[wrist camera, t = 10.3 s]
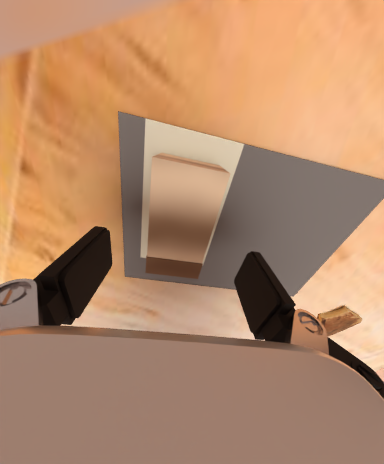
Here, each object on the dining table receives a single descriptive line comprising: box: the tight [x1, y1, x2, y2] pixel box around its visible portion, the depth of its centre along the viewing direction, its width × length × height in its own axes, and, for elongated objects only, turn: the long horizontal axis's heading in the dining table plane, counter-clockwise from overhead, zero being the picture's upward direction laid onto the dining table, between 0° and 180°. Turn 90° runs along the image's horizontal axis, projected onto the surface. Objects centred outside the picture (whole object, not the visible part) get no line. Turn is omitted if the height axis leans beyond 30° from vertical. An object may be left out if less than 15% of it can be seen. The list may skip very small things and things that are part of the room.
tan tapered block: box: [145, 153, 231, 279], centre depth 13 cm, size 10×5×4 cm, turn 169°
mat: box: [118, 111, 384, 296], centre depth 17 cm, size 18×26×1 cm
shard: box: [318, 306, 362, 336], centre depth 29 cm, size 11×8×2 cm
